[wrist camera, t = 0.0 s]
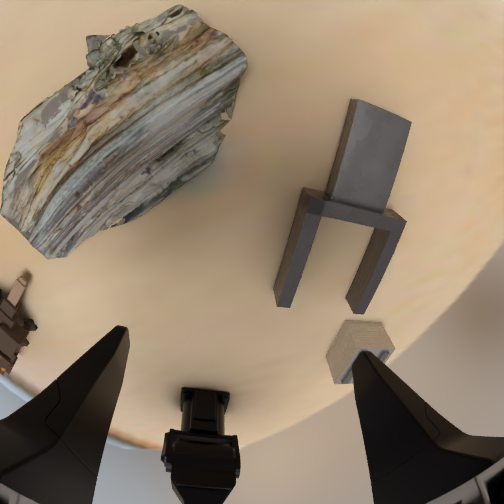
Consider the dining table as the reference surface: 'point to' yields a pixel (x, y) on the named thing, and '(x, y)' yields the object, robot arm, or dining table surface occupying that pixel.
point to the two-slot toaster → (357, 347)
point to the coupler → (353, 202)
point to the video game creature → (12, 326)
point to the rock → (122, 130)
